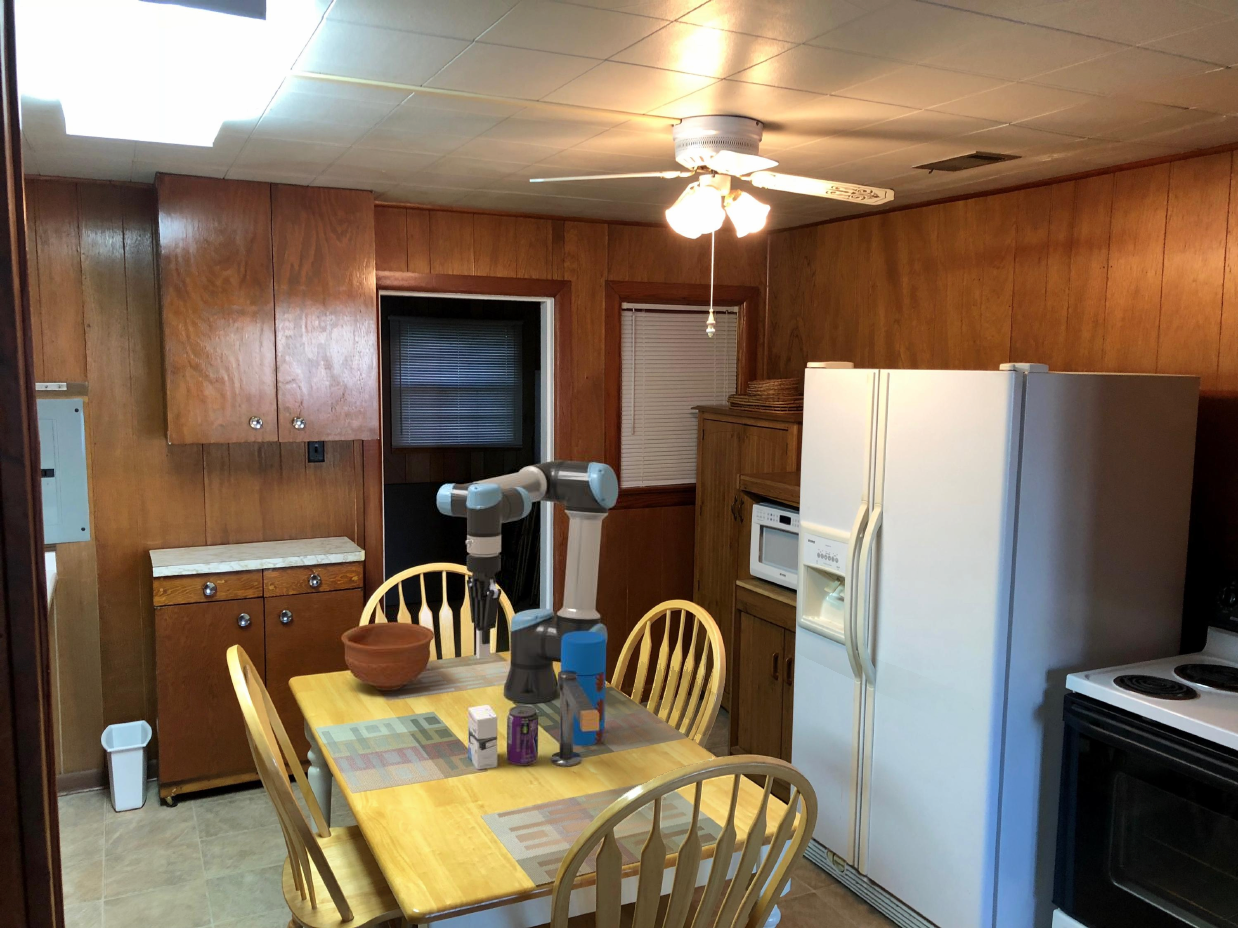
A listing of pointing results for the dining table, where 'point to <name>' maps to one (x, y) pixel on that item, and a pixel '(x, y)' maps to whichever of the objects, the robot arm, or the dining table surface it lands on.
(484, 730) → the ink box
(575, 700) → the swing bar
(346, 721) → the dining table surface
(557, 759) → the post
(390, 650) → the bowl
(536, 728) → the beverage can
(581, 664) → the thermos
